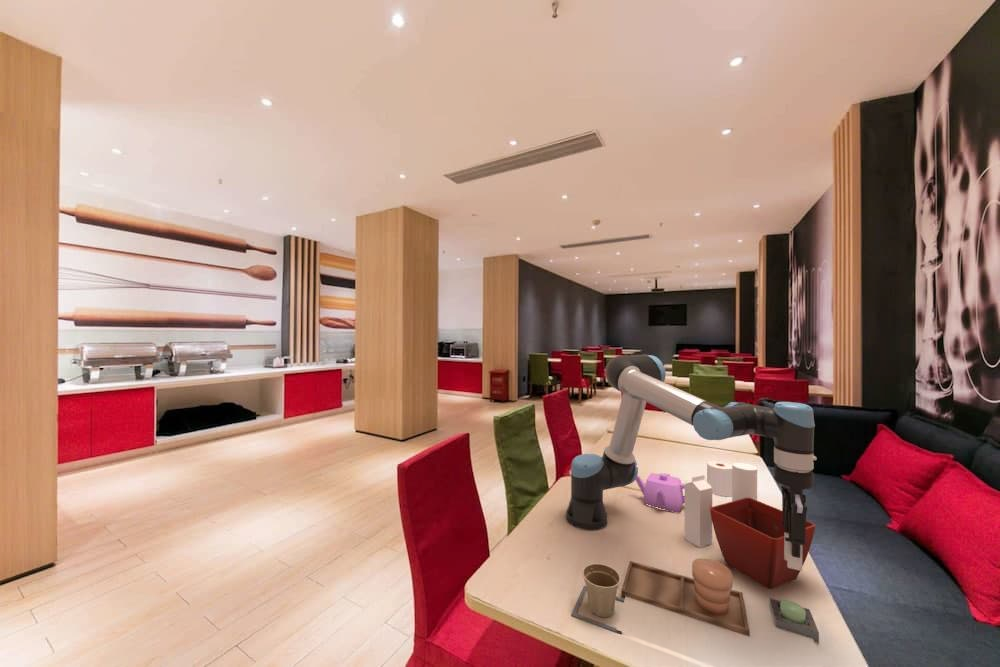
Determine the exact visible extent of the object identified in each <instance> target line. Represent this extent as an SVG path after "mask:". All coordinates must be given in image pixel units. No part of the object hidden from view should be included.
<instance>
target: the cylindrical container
mask: <svg viewBox="0 0 1000 667" xmlns="http://www.w3.org/2000/svg"><path fill="white" fill-rule="evenodd" d="M731 465H732V496H731V502H732V501H736V500H739V499H743V498H752V499H754V500H757V501H758V467H756V466H754V465H752V464H750V463H742V462H733V463H732V464H731Z"/></svg>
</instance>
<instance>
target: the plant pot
mask: <svg viewBox="0 0 1000 667" xmlns="http://www.w3.org/2000/svg"><path fill="white" fill-rule="evenodd" d="M710 512H711V518H712V528H713V530H714V533H715V537H716V540H717V543H718V546H719V549H720V551H721V555H722V557H723V560H724V562H725V564H726V567H728V568H730V569H733V570H734V569H735V570H736V571H737V572H740V573H741V574H743V575H744V576H746V577H748V578H749V579H751V580H752V581H754V582H757V584H760V586H762V587H764V588H766V589H769V590H773V589H775V588H777V587H779V586H783V585H785V584H786V583H787V584H789V583H791V582H793V581H795V580H797V578H798V576H799V574H800V572H801V571H799V570H795V569H791V568H788V567H787V560H785V559H784V532H785V533H787V532H786V531H784V525H783V524H782V522H783V517H782V510H781V509H778V508H776V507H774V506H772V505H769V504H766V503H764V502H762V501H759V500H758V499H757V500H754V499H752V498H743V499H739V500H736V501H732V500H731V501H728V502H725V503H722V504H721V503H720V504H718V505H715V506H712V507H710ZM815 528H816V525H815V523H813V522H810V521H809V520H806V531H805V546H804V545H802V567H803V566H804V564H805V562H806V560H807V557H808V554H809V552H810V549H811V546H812V541H813V539H814V535H815V534H814V533H815V530H816V529H815Z"/></svg>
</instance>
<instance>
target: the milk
mask: <svg viewBox="0 0 1000 667" xmlns="http://www.w3.org/2000/svg"><path fill="white" fill-rule="evenodd" d="M705 478H706V477H705V475H704V474H703V475H698V476H693V477H691V482H686V483H684V484H685V489H684V496H685V503H684V534H683V535H684V540H686V541H687V542H689V543H691V544H692V545H694V546H696V547H698V548H704V547H706V546H710V545H712V544H713V523H712V518H711V512H710V507H713V493H712V487H711V486H710V485H709V484H708V483H707V479H705Z"/></svg>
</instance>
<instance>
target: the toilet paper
mask: <svg viewBox="0 0 1000 667" xmlns="http://www.w3.org/2000/svg"><path fill="white" fill-rule="evenodd" d="M706 482H707V483H708V484H709V485H710V486H711V487H712V495H715V496H719V497H732V464H730V463H727V462H725V461H724V462H723V461H715V460H714V461H712V460H710V461H708V462H707V463H706Z"/></svg>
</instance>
